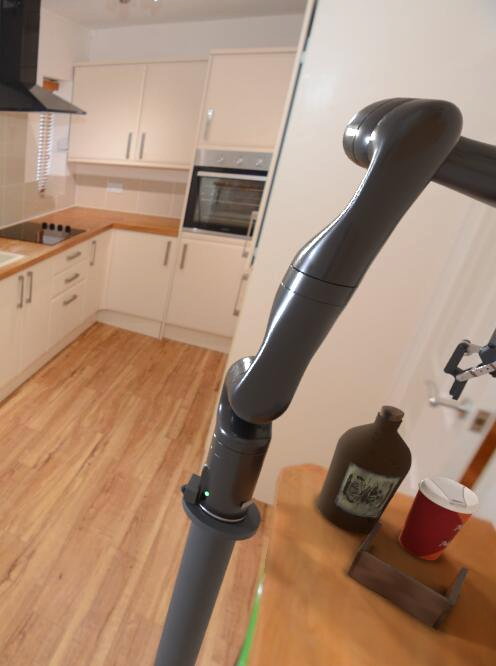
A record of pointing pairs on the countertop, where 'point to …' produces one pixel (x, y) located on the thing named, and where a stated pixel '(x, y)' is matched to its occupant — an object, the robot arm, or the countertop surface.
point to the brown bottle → (365, 472)
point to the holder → (404, 585)
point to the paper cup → (436, 516)
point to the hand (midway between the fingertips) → (489, 409)
